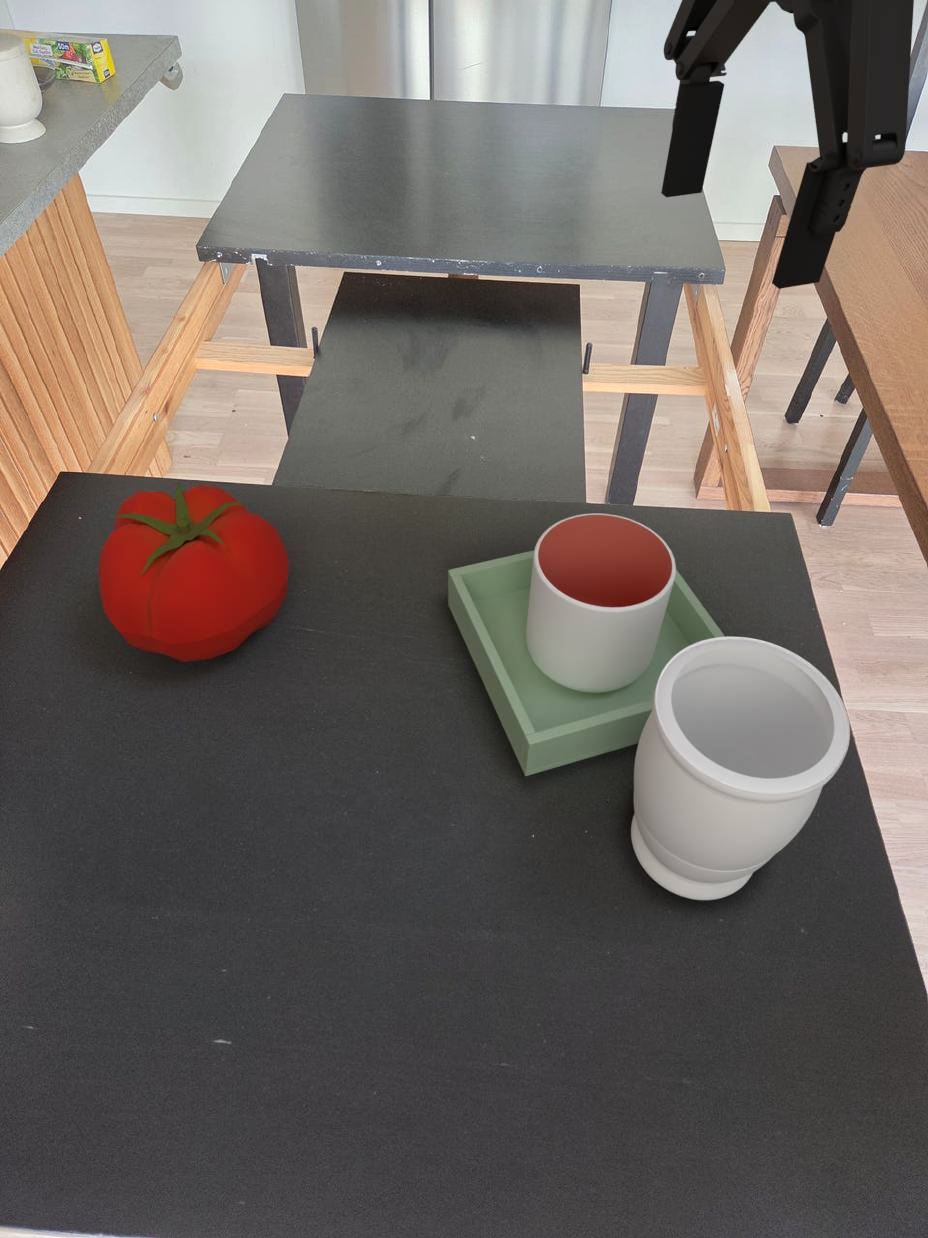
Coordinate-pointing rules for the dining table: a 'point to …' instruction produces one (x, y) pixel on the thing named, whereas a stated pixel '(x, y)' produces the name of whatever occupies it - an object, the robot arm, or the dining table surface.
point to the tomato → (191, 572)
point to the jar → (731, 762)
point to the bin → (533, 703)
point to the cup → (597, 601)
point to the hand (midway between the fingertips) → (733, 234)
